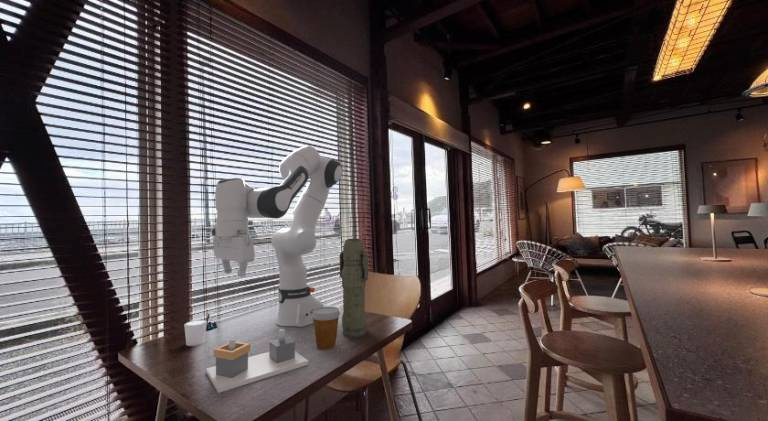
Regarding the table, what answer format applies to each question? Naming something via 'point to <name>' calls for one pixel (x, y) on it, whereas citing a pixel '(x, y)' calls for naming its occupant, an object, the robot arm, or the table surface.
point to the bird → (210, 324)
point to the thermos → (354, 287)
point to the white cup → (195, 332)
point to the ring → (231, 355)
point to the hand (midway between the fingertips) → (234, 274)
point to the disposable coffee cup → (325, 326)
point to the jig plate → (255, 364)
